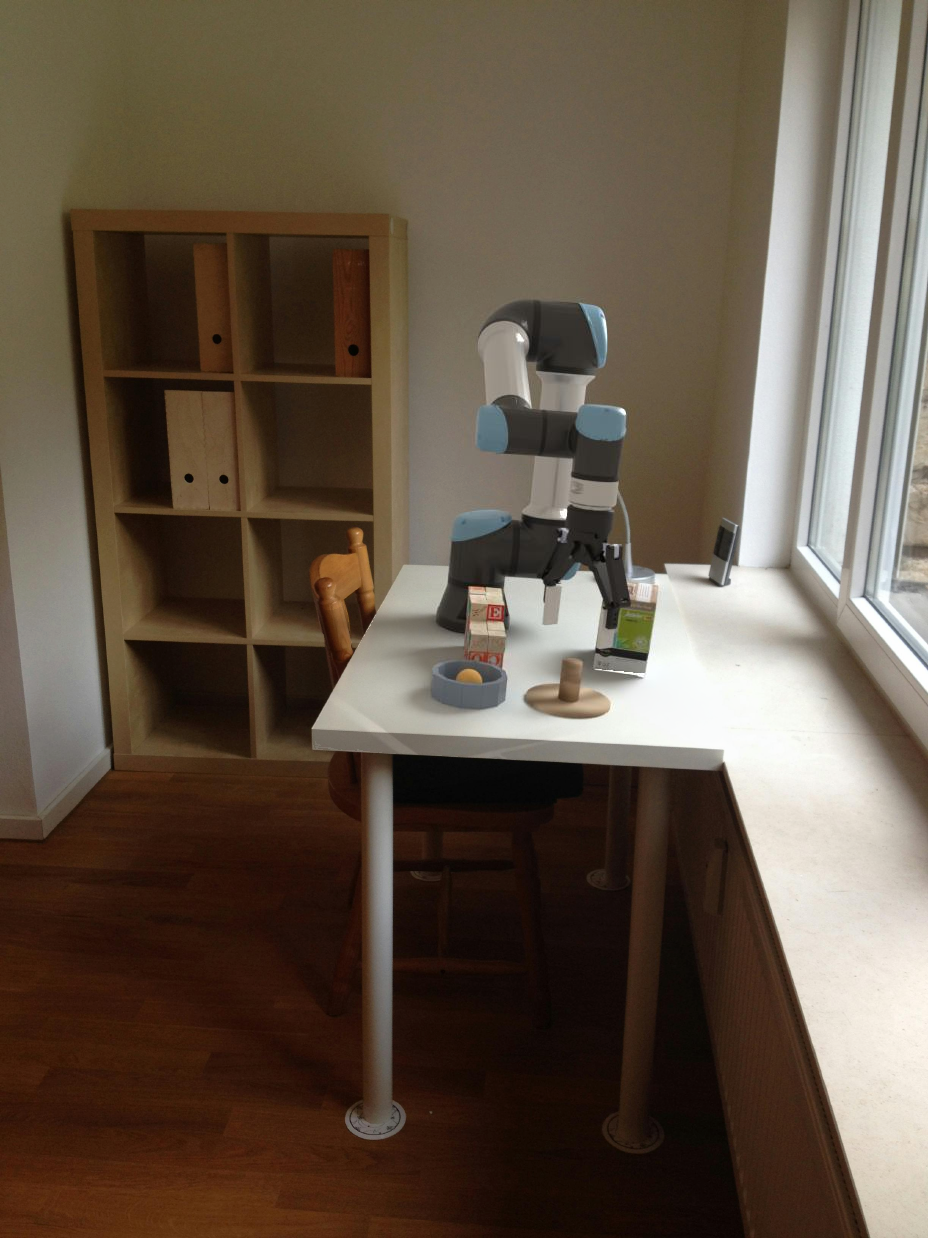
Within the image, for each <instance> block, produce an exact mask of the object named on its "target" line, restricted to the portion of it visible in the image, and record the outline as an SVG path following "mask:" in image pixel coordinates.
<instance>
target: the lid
mask: <svg viewBox="0 0 928 1238" xmlns="http://www.w3.org/2000/svg"><path fill="white" fill-rule="evenodd" d="M583 666H584V662H583V660H581V659H579V658H574V657H567V658H563V659H562V660H561V669H560V678H559V683H543V684H538V685H535V686H532V687H530V688H529V689H528V690H527V691H526V692H525V700H526V703H528V704H529V706H531V707H532V708H534V709H536V710H538V711H540V712H543V713H545V714H547V715H552V716H556V717H562V718H569V719H592V717H593V718H598V717H601V716H603V715H606V714H607V713H609V712H610V710H611V704H612V703H611V700H610V698H608V697H607V696H606V695H605V694H603V693H602V692H599V691H597V690H595V689H593V688H589V687H585V686H582V685H581V682H582V675H583ZM605 713H606V714H605Z"/></svg>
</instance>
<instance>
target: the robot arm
mask: <svg viewBox="0 0 928 1238" xmlns="http://www.w3.org/2000/svg"><path fill="white" fill-rule="evenodd" d="M607 331H608V330H607V321H606V316H605V313H604V311H603V310H602V308H600V307H599V306H597V305H593V304H589V303H588V304H587V303H582V302H580V301H579V302H572V301H557V300H543V299H533V298H519V299H517V298H516V299H515V300H511V301H507V302H505V303H504V304H502V305H500V306H498V307H497V308H496V309H494V310H493V311H492V312H491V313H489V315H488V316H487V317H486V318H485V319H484V321H483V322H482V324H481V326H480V328H479V331H478V333H477V334H478V335H477V352H478V356H479V357H480V359H481V361H482V362H483V366H484V367H483V368H484V369H483V370H484V384H485V385H484V386H485V401H486V402H485V403H486V404H485V405H481V406H480V407H478V409H477V412H476V421H475V434H474V435H475V436H474V439H475V440H474V444H475V447H476V449H477V450H479V451H480V452H486V453H493V454H494V453H495V454H496V455H502V454H503V455H504V454H505V455H517V456H518V455H519V456H531V457H534V464H533V465H534V466H533V473H532V484H531V493H530V494H531V495H530V502H529V504H528V505H527V506H526V507H524V508H523V510H522V511H521V519H513V517H512V514H511V513H510V512H509V511H506V510H498V509H480V510H479V509H478V510H471V511H466V512H463V513H460V514H457V516H456V517H455V518H454V519H453V522H452V529H451V535H450V537H449V538H450V539H449V540H450V552H449V562H448V573H447V582H446V583H447V584H446V587H445V590H444V592H443V595H442V597H441V600H440V602H439V604H438V605H439V606H437V609H436V613H435V615H436V616H435V622H436V623H437V624H438V626H441V627H442V628H445V629H448V630H449V631H450V630H451V631H455V632H459V633H464V634H465V630H466V620H467V617H466V614H467V602H468V589H469V586H472V587H485V588H486V587H488V588H500V589H501V590H502V596H503V601H504V605H505V607H504V618H503V623H504V628H505V631H507V630H508V629H509V627H510V621H511V620H510V618H511V617H510V613H509V606H508V603H507V598H506V593H505V581H506V578H519V579H533V580H534V579H535V580H541V581H542V583H543V585H544V587H543V588H544V590H543V597H542V598H543V612H542V613H543V614H542V623H541V625H543V626H550V625H558V623H559V616H560V615H559V614H560V606H561V596H562V587H563V586H561V585H560V584H562V581H569V580H571V579H573V578H574V577H575V576H576V574H577V572H578V570H579V569H580V566H581V565H583V566H585V567H587V568H588V570H589V571H591V573H592V574H593V577H594V579H595V583H596V586H597V587H598V590H599V592H600V594H601V595H600V596H601V598H602V601H604V604H605V606H604V607H602V608H601V607H600V612H601V614H599V619H600V622H599V621H598V627H599V630H598V629H597V634H598V638H597V637H596V640H597V646H596V645H595V647H596V648H598V649H604V648H611V647H612V646H613V638H614V631H615V629H616V628H617V625H618V618H619V611H620V609H621V608H625V607H630V606H631V600H630V595H629V590H628V585H627V581H628V580H627V575H626V572H625V565H624V562H623V551H624V549H623V547H624V546H623V545H622V543H612V544H611V543H609V535H610V534H611V533H612V532H613V530H614V523H615V516H616V510H615V509H614V508H613V507H615V506H616V505H617V500H618V492H619V491H618V490H619V479H620V472H621V464H622V457H623V451H624V450H623V448H624V442H625V435H626V434H627V428H626V423H627V413H626V410H625V409H624V408H622V407H620V406H614V405H606V404H594V403H593V404H591V403H586V404H585V399H586V392H587V390H586V389H587V386H588V384H590V382H592V381H593V380H594V379H595V378H596V371H597V370H599V369H602V368H603V367H605V364H606V361H607V360H606V359H607V355H608V354H607V353H608V332H607ZM527 363H533V364H534V363H535V374H536V375H537V376H538V377H539V379H540V380H541V393H540V404H539V409H537V408H532V399H531V392H530V385H529V378H528V377H529V376H528V368H527ZM611 599H612V600H613V601H611ZM621 599H623V600H621Z"/></svg>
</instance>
